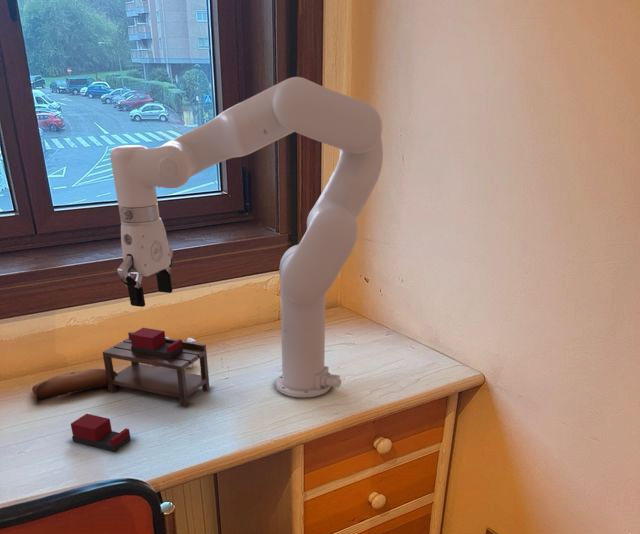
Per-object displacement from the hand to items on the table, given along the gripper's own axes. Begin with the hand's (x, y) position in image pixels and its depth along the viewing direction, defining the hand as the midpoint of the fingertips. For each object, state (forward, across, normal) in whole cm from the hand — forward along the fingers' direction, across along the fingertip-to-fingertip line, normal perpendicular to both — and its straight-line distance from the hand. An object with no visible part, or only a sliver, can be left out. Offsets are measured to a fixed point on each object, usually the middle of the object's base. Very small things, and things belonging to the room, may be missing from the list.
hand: (152, 298), depth 134 cm
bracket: (+21, +14, +8) cm, 27 cm away
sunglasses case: (+21, -8, +18) cm, 29 cm away
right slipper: (+12, -1, 0) cm, 12 cm away
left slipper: (+21, -24, -2) cm, 32 cm away
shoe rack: (+21, -1, +1) cm, 21 cm away
